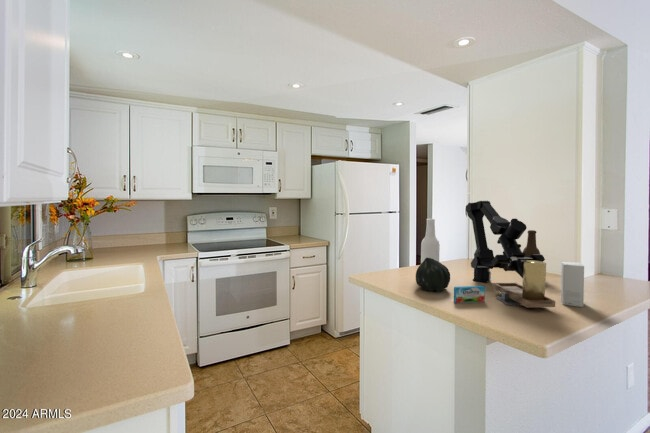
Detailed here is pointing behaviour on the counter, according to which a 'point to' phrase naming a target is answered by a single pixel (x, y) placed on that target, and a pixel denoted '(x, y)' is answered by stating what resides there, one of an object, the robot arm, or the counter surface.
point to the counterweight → (534, 280)
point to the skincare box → (572, 284)
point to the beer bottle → (531, 244)
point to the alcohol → (430, 242)
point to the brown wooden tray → (516, 294)
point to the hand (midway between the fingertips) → (526, 279)
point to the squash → (432, 275)
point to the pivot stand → (507, 299)
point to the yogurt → (469, 294)
